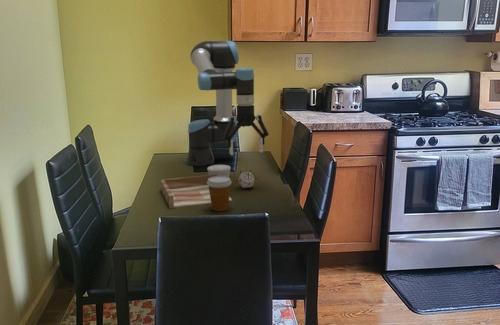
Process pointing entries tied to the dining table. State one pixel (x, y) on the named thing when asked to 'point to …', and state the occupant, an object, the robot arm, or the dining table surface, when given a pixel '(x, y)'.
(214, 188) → the disposable coffee cup
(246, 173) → the game die
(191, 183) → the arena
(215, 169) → the ramekin
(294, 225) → the dining table surface
